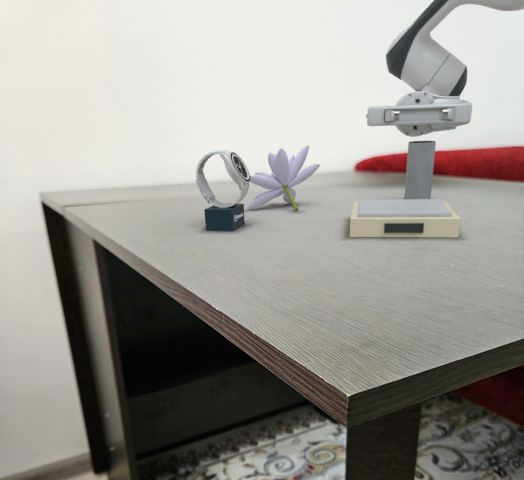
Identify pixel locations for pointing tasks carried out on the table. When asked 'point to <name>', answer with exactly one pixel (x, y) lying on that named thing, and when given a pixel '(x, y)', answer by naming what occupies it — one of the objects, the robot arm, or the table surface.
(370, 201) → the scale
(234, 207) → the watch
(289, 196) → the water lily
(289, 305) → the table surface
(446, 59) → the robot arm
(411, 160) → the grey tall cylinder
